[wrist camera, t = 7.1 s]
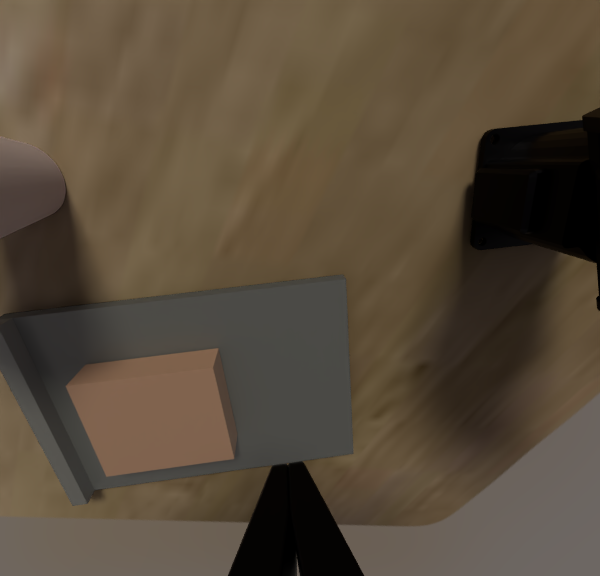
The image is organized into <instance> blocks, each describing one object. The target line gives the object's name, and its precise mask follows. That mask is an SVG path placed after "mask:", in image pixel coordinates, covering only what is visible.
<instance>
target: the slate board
mask: <svg viewBox="0 0 600 576" xmlns="http://www.w3.org/2000/svg"><path fill="white" fill-rule="evenodd" d="M215 348H219V353H220V357H221V362H222V366H223V371H224V375H225V380H226V384H227V389H228V393H229V398H230V403H231V407H232V412H233V416H234V421H235V425H236V430H237V442H236V450H235V457H234V459H230V460H223V461H216V462H209V463H201V464H194V465H187V466H180V467H173V468H166V469H158V470H151V471H144V472H137V473H130V474H122V475H115V476H108V477H106V475H105V472H104V470H103V468H102V466H101V464H100V461H99V459H98V457H97V455H96V453H95V450H94V448H93V446H92V444H91V441H90V439H89V437H88V435H87V433H86V430H85V428H84V426H83V424H82V421H81V419H80V417H79V415H78V413H77V410H76V408H75V406H74V404H73V402H72V399H71V397H70V395H69V393H68V390H67V388H66V385H67V384H68V383H69V382H70V381H71V380H72V379H73V378H74V377H75V375H76V374H77V373H78V372H79V371H80V370H81V369H82V368H83V367H84V366H85V365H87V364H95V363H103V362H111V361H119V360H127V359H135V358H143V357H151V356H159V355H167V354H175V353H183V352H191V351H199V350H207V349H215ZM0 370H1V372H2V374H3V376H4V378H5V380H6V381H7V383H8V385H9V387H10V389H11V391H12V393H13V395H14V396H15V398H16V400H17V402H18V404H19V406H20V408H21V410H22V412H23V413H24V415H25V417H26V419H27V421H28V423H29V425H30V427H31V428H32V430H33V432H34V434H35V436H36V438H37V440H38V442H39V443H40V445H41V447H42V449H43V451H44V453H45V455H46V457H47V458H48V460H49V462H50V464H51V466H52V468H53V470H54V472H55V473H56V475H57V477H58V479H59V481H60V483H61V485H62V487H63V489H64V490H65V492H66V494H67V496H68V498H69V500H70V502H71V504H72V505H73V506H75V505H82V504H88V502H89V500H90V498H91V496H92V494H93V492H94V491H95V490H99V489H106V488H113V487H120V486H127V485H134V484H141V483H148V482H155V481H162V480H170V479H177V478H184V477H191V476H198V475H205V474H212V473H219V472H226V471H233V470H241V469H248V468H255V467H262V466H269V465H276V464H283V463H290V462H297V461H304V460H312V459H319V458H326V457H333V456H340V455H347V454H353V434H352V410H351V387H350V363H349V340H348V316H347V293H346V278H345V277H344V275H335V276H326V277H318V278H309V279H301V280H292V281H283V282H275V283H266V284H258V285H249V286H241V287H232V288H223V289H215V290H206V291H198V292H189V293H181V294H172V295H163V296H155V297H146V298H138V299H129V300H121V301H112V302H104V303H95V304H86V305H78V306H69V307H61V308H52V309H44V310H35V311H26V312H18V313H9V314H4V315H2V316H0Z"/></svg>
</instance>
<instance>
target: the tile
mask: <svg viewBox="0 0 600 576" xmlns="http://www.w3.org/2000/svg"><path fill="white" fill-rule="evenodd" d="M66 388H67V390H68V393H69V395H70V397H71V399H72V402H73V404H74V406H75V408H76V410H77V413H78V415H79V417H80V419H81V421H82V424H83V426H84V428H85V430H86V433H87V435H88V437H89V439H90V441H91V444H92V446H93V448H94V450H95V453H96V455H97V457H98V459H99V461H100V464H101V466H102V468H103V470H104V472H105V475H106V477H108V476H115V475H122V474H130V473H137V472H144V471H151V470H158V469H166V468H173V467H180V466H187V465H194V464H201V463H209V462H216V461H223V460H230V459H234V457H235V450H236V442H237V430H236V425H235V421H234V416H233V412H232V407H231V403H230V398H229V393H228V389H227V384H226V380H225V375H224V371H223V366H222V362H221V357H220V353H219V348H215V349H207V350H199V351H191V352H183V353H175V354H167V355H159V356H151V357H143V358H135V359H127V360H119V361H111V362H103V363H95V364H87V365H85V366H84V367H83V368H82V369H81V370H80V371H79V372H78V373H77V374H76V375H75V377H74V378H73V379H72V380H71V381H70V382H69V383H68V384H67V385H66Z"/></svg>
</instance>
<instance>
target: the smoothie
mask: <svg viewBox="0 0 600 576" xmlns="http://www.w3.org/2000/svg"><path fill="white" fill-rule="evenodd" d="M65 194H66V186H65V181H64V178H63V175H62V173H61V171H60V169H59V167H58V166H57V164H56V163H55V162H54V161H53V160H52V159H51V158H50V157H49V156H48V155H47V154H46V153H45V152H43V151H42V150H40V149H39V148H37V147H35V146H33V145H30V144H28V143H24V142H20V141H16V140H12V139H8V138H4V137H1V136H0V239H1V238H3V237H5V236H7V235H9V234H11V233H13V232H16V231H18V230H20V229H22V228H24V227H26V226H28V225H30V224H33V223H35V222H37V221H39V220H41V219H43V218H45V217H48V216H50V215H52V214H53V213H55V212H56V211H57V210H58V209H59V208H60V207H61V206H62V204H63V202H64V199H65Z"/></svg>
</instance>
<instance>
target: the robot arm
mask: <svg viewBox="0 0 600 576" xmlns="http://www.w3.org/2000/svg"><path fill="white" fill-rule="evenodd" d="M582 119H583V120H579V121H569V122H559V123H549V124H539V125H529V126H519V127H509V128H499V129H491V130H488V131H487V132H485V133H484V135H483V136H482V139H481V147H480V156H479V165H478V172H477V173H476V178H475V187H474V197H473V206H472V218H473V221H472V231H471V240H470V242H471V246H472V247H474V248H476V249H478V250H486V249H494V248H503V247H512V246H520V245H529V244H535V245H538V246H542V247H545V248H548V249H551V250H555V251H558V252H561V253H564V254H567V255H571V256H574V257H577V258H580V259H584V260H587V261H590V262H593V263H596V264H597V274H598V288H599V296H598V297H597V298H596V301H597V309H598V310H599V311H600V108H598V109H596V110H593V111H591V112H589V113H587V114H585V115H583V116H582ZM493 135H494V137H495V140H494V142H493V144H491V142H490V139H491V137H492V136H493ZM481 238H482V239H483V240H482V242H481V243H480V244H478V242H479V240H480V239H481ZM296 554H297V556H296ZM297 560H298V567H299V573H300V576H364V574H363V573H362V571H361V569H360V567H359V565H358V563H357V561H356V559H355V558H354V556H353V554H352V552H351V550H350V548H349V546H348V545H347V543H346V541H345V539H344V537H343V535H342V533H341V531H340V529H339V528H338V526H337V524H336V522H335V520H334V518H333V516H332V514H331V513H330V511H329V509H328V507H327V505H326V503H325V501H324V499H323V498H322V496H321V494H320V492H319V490H318V488H317V486H316V484H315V483H314V481H313V479H312V477H311V475H310V473H309V471H308V469H307V468H306V466H305V464H304V463H303V462H302V461H299V462H292V463H289V464H288V465H287V464H278V465H273V466H272V468H271V470H270V472H269V475H268V477H267V480H266V482H265V485H264V487H263V489H262V492H261V494H260V497H259V499H258V502H257V504H256V507H255V509H254V512H253V514H252V517H251V519H250V522H249V524H248V527H247V529H246V532H245V534H244V537H243V539H242V542H241V544H240V547H239V550H238V552H237V554H236V557H235V559H234V562H233V564H232V567H231V570H230V572H229V574H228V576H297Z"/></svg>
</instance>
